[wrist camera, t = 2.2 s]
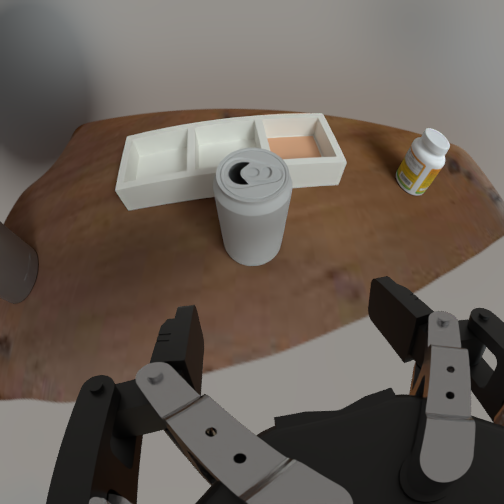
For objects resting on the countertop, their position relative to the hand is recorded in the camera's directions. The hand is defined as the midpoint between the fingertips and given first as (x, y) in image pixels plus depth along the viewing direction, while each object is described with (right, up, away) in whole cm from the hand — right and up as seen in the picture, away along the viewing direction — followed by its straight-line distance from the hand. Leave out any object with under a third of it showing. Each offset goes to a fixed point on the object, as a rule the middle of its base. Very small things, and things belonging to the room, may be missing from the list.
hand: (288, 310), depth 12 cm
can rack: (-5, +14, +24) cm, 29 cm away
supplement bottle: (+22, +13, +24) cm, 35 cm away
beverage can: (-2, +4, +20) cm, 20 cm away
